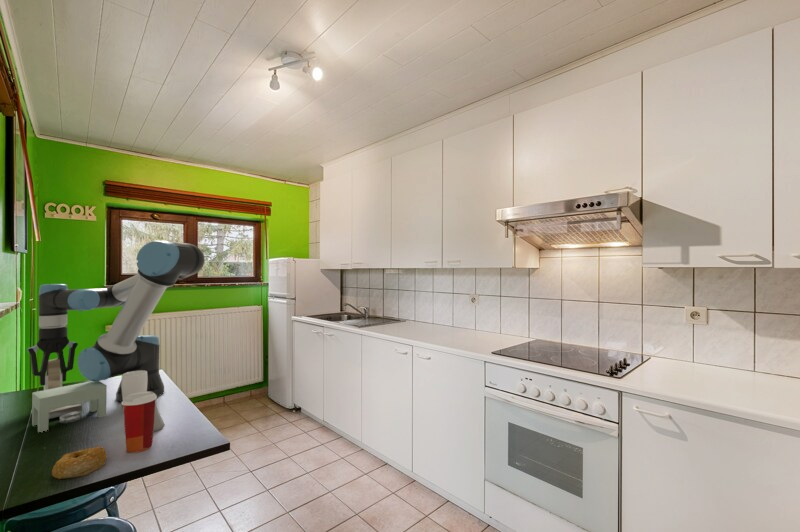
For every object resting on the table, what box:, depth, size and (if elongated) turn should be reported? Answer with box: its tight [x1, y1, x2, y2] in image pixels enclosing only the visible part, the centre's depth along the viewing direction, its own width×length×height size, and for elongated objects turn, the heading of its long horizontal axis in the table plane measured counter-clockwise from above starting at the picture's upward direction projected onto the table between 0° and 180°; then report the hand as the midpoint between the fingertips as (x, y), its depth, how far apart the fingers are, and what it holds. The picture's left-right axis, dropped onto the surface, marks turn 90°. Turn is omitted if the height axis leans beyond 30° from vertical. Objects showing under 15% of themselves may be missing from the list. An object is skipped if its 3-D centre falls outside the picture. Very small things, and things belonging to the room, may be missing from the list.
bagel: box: [51, 446, 108, 480], centre depth 88 cm, size 10×11×5 cm
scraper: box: [46, 358, 83, 420], centre depth 126 cm, size 20×8×16 cm, turn 53°
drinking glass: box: [120, 370, 148, 410], centre depth 117 cm, size 7×7×15 cm
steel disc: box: [59, 411, 82, 424], centre depth 117 cm, size 5×5×2 cm
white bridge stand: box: [31, 380, 108, 433], centre depth 117 cm, size 10×16×10 cm, turn 144°
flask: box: [153, 394, 165, 433], centre depth 110 cm, size 7×7×10 cm
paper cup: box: [120, 391, 158, 454], centre depth 98 cm, size 8×8×14 cm
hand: (53, 392), depth 131 cm, fingers closed on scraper, 3 cm apart
